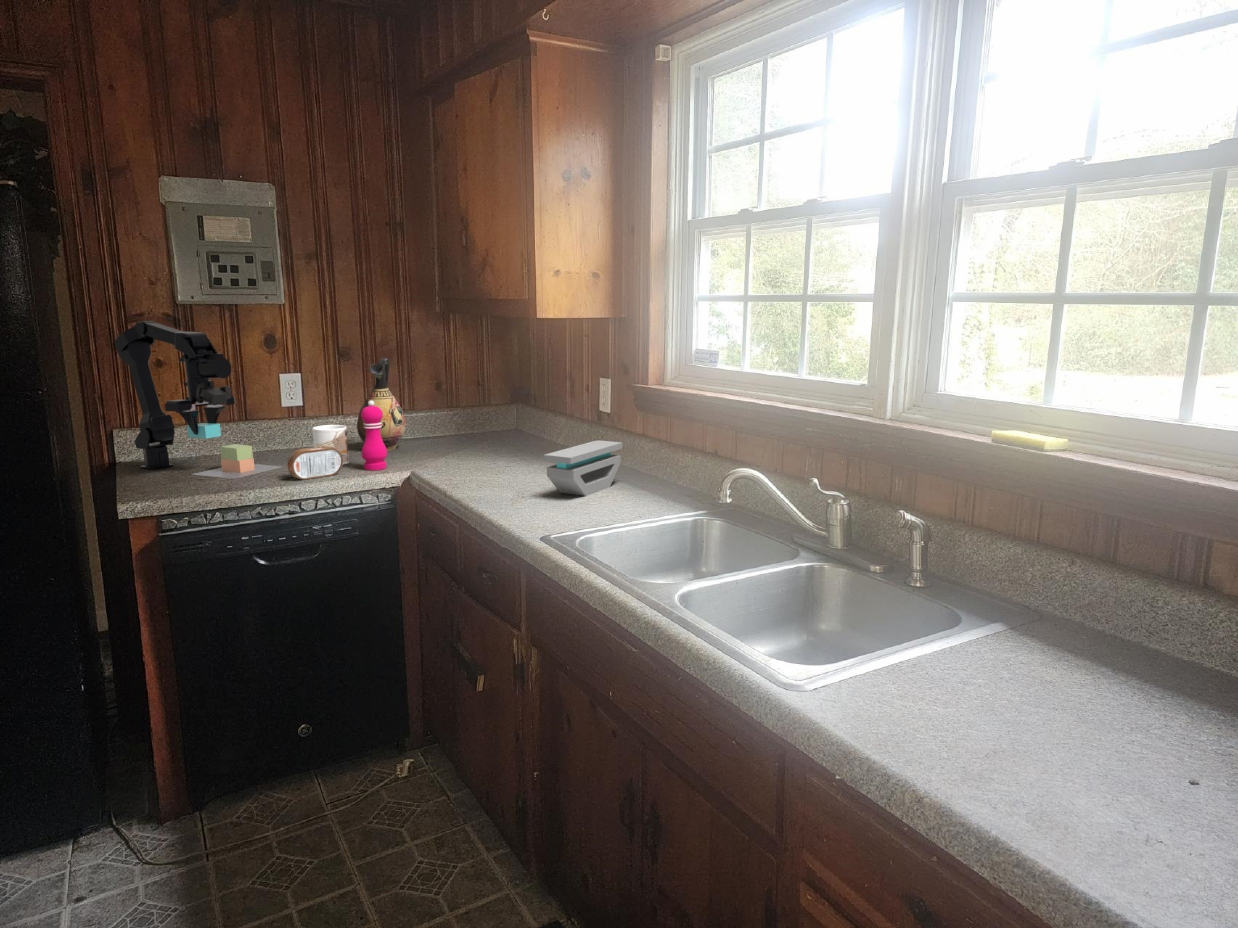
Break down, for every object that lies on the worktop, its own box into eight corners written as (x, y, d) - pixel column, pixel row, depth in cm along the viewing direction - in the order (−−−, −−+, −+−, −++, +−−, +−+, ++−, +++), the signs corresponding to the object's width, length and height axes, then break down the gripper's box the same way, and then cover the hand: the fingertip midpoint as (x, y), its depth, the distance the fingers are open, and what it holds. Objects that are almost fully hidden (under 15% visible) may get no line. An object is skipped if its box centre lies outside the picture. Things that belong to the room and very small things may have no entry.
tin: (340, 472, 231) (338, 443, 229) (345, 474, 229) (343, 445, 227) (288, 480, 220) (285, 450, 219) (293, 482, 218) (290, 452, 217)
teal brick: (188, 437, 228) (186, 425, 227) (203, 435, 233) (202, 423, 232) (206, 438, 225) (204, 426, 225) (221, 436, 230) (219, 423, 229)
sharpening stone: (597, 479, 221) (597, 440, 218) (622, 482, 217) (622, 442, 215) (544, 498, 199) (543, 454, 197) (571, 501, 195) (570, 457, 193)
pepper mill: (380, 471, 232) (376, 402, 228) (357, 470, 234) (353, 401, 230) (392, 466, 239) (388, 399, 235) (370, 465, 241) (365, 398, 237)
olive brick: (221, 458, 230) (220, 446, 229) (236, 455, 234) (235, 444, 234) (237, 460, 227) (236, 448, 226) (252, 457, 231) (251, 445, 230)
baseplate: (191, 476, 226) (191, 474, 226) (242, 464, 242) (242, 462, 242) (234, 480, 220) (233, 478, 220) (283, 468, 237) (283, 466, 236)
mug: (305, 464, 242) (303, 428, 240) (333, 457, 253) (331, 423, 251) (333, 467, 238) (331, 430, 236) (360, 460, 249) (358, 424, 247)
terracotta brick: (222, 471, 230) (220, 459, 230) (236, 467, 235) (235, 456, 234) (240, 472, 228) (239, 460, 227) (254, 469, 232) (253, 457, 232)
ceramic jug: (399, 453, 260) (394, 360, 255) (352, 453, 261) (345, 360, 255) (413, 444, 277) (408, 356, 271) (368, 444, 277) (363, 356, 272)
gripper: (189, 381, 214) (196, 439, 217) (246, 375, 231) (251, 429, 234) (160, 380, 219) (167, 437, 221) (217, 375, 235) (224, 428, 238)
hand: (204, 433), depth 229 cm, fingers closed on teal brick, 5 cm apart
